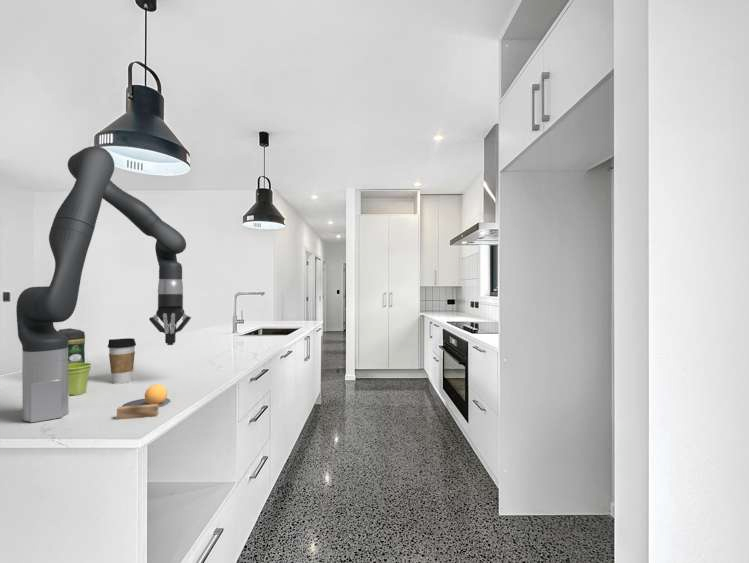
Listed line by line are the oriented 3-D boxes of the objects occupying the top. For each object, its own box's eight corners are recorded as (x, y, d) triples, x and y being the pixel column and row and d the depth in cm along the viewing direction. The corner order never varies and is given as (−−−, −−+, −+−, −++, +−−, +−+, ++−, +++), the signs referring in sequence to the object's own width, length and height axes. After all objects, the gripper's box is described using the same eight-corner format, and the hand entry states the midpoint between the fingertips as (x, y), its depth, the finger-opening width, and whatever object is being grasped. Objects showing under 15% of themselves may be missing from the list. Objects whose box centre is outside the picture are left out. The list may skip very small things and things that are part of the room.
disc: (175, 404, 115) (175, 404, 115) (125, 413, 108) (125, 412, 108) (164, 395, 125) (164, 395, 125) (118, 403, 117) (118, 402, 117)
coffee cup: (101, 383, 141) (101, 339, 141) (123, 378, 149) (123, 336, 149) (120, 385, 138) (120, 340, 138) (141, 379, 146) (141, 337, 146)
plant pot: (69, 398, 122) (69, 369, 122) (47, 396, 125) (47, 367, 126) (99, 391, 131) (99, 363, 131) (78, 388, 134) (78, 362, 134)
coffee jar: (51, 382, 143) (50, 328, 144) (77, 378, 150) (77, 326, 150) (61, 386, 138) (61, 330, 138) (88, 381, 144) (88, 328, 144)
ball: (171, 382, 118) (171, 401, 118) (152, 381, 118) (152, 401, 119) (160, 387, 112) (160, 408, 113) (140, 387, 113) (140, 407, 113)
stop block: (158, 413, 107) (158, 403, 107) (156, 416, 105) (156, 406, 105) (119, 416, 105) (119, 406, 105) (116, 419, 103) (116, 409, 103)
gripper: (193, 292, 144) (193, 342, 143) (152, 293, 141) (151, 344, 140) (189, 292, 137) (189, 345, 136) (145, 293, 134) (145, 347, 133)
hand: (170, 344), depth 138 cm, fingers closed
